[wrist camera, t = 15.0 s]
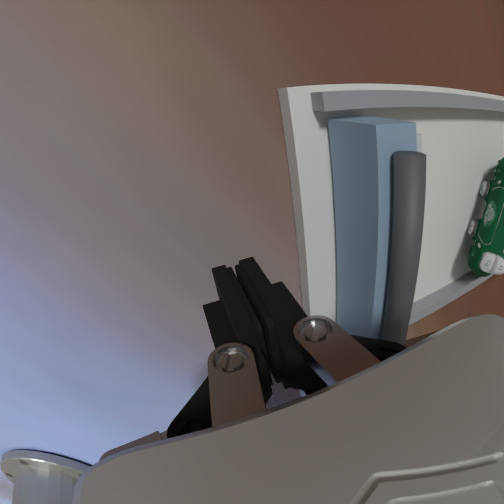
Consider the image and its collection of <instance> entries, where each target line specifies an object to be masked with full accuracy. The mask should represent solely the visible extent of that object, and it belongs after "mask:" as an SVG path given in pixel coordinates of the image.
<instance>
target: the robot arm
mask: <svg viewBox="0 0 504 504" xmlns="http://www.w3.org/2000/svg"><path fill="white" fill-rule="evenodd" d="M235 270H236V274H237V277H236V275H235V273H234V271H233V269H232V267H228V268H226V266H225V265H222V266H219V267H215V268H212V273H213V277H214V281H215V284H216V288H217V292H218V296H219V299H220V300H219V301H215V302H212V303H209V304H205V305H203V309H204V312H205V316H206V319H207V322H208V326H209V329H210V333H211V336H212V339H213V342H214V346H215V350H214V351H213V352H212V353H211V354H210V356H209V358H208V377H207V378H206V380H205V381H204V382H203V383H202V385H201V386H200V387H199V388H198V390H197V391H196V392H195V394H194V395H193V396H192V397H191V399H190V400H189V401H188V402H187V404H186V405H185V406H184V407H183V409H182V410H181V411H180V412H179V414H178V415H177V416H176V417H175V419H174V420H173V421H172V422H171V424H170V426H169V427H168V430H167V431H164V432H162V433H159V432H158V431H156V432H154V433H152V434H149V435H147V436H145V437H142V438H140V439H137V440H135V441H132V442H130V443H127V444H125V445H122V446H120V447H117V448H114V449H112V450H109V451H108V452H106V453H104V454H103V456H102V457H101V458H100V460H99V462H97V463H95V464H94V465H92V466H88V465H85V464H83V463H80V462H77V461H74V460H71V459H68V458H65V457H61V456H57V455H53V454H49V453H44V452H39V451H31V450H13V451H9V452H6V453H5V454H4V455H3V456H2V459H1V470H2V471H3V473H4V474H5V476H6V477H7V478H8V479H9V480H10V481H11V482H13V483H14V486H13V500H12V504H504V318H503V317H500V316H498V315H493V314H486V315H478V316H473V317H470V318H467V319H464V320H461V321H458V322H456V323H454V324H451V325H449V326H447V327H445V328H443V329H441V330H438V331H435V332H432V333H429V334H426V335H422V336H419V337H416V338H412V339H409V340H405V341H404V344H400V343H397V342H393V341H387V340H380V339H374V338H368V337H362V336H356V335H350V334H348V333H347V332H346V331H345V330H344V329H343V328H341V327H340V326H339V325H338V324H337V323H336V322H334V321H333V320H332V319H330V318H328V317H325V316H321V315H313V316H307V315H306V313H305V312H304V311H303V309H302V308H301V307H300V305H299V304H298V302H297V301H296V300H295V298H294V297H293V296H292V294H291V293H290V292H289V290H288V289H287V288H286V286H285V285H284V284H283V283H282V282H278V283H274V284H271V283H270V281H269V280H268V279H267V277H266V276H265V274H264V273H263V271H262V270H261V268H260V267H259V265H258V264H257V262H256V261H255V259H254V258H253V257H250V258H246V259H243V260H240V261H239V265H235ZM270 371H271V372H270ZM271 373H272V375H273V377H274V379H275V381H276V383H279V382H282V384H283V386H284V388H285V389H287V388H289V387H291V388H295V389H299V393H300V395H301V398H298V399H296V400H293V401H290V402H288V403H285V404H282V405H280V406H277V407H274V408H271V409H268V410H267V408H266V403H267V402H268V400H269V398H270V397H271V395H272V389H271V385H273V383H272V377H271Z"/></svg>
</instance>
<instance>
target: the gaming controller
mask: <svg viewBox="0 0 504 504" xmlns="http://www.w3.org/2000/svg"><path fill="white" fill-rule="evenodd" d="M493 174H494V177H493V179H492V180H489V181H488V182H486V181H484V182H483V183H482V185H481V189H480V194H481V195H482V196H483V195H484V200H485V201H486V207H485V209H484V212H483V217H482V218H481V219H478V220H476V222H475V221H474V220H473V221H471V222H470V224H469V227H468V233H469V235H471V238H472V240H473V245H472V246H471V248H470V251H469V254H470V255H469V258H468V266H469V268H470V269H471V270H472V272H473V273H475V274H476V275H477V276H480V277H487V276H489V275H491V274H503V273H504V254H503V250H504V157H503V158H502V159H501V160H498V164H497V167H495V168H494V172H493Z"/></svg>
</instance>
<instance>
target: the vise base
mask: <svg viewBox="0 0 504 504" xmlns="http://www.w3.org/2000/svg"><path fill="white" fill-rule="evenodd" d="M278 94H279V101H280V107H281V114H282V121H283V128H284V135H285V143H286V150H287V158H288V166H289V174H290V182H291V191H292V199H293V208H294V218H295V227H296V237H297V247H298V258H299V269H300V280H301V293H302V305H303V311H304V312H305V313H306V315H307V316H313V315H321V316H325V317H328V318H330V319H332V320H333V321H334V322H336V323H337V248H336V220H335V201H334V185H333V171H332V159H331V148H330V137H329V128H328V119H335V118H345V117H357V116H372V117H380V118H388V119H396V120H403V121H409V122H415V123H416V133H418V134H421V136H422V153H424V154H426V193H425V211H424V224H423V235H422V244H421V253H420V261H419V268H418V275H417V282H416V288H415V294H414V300H413V305H412V311H411V316H410V321H409V325H410V324H412V323H414V322H416V321H418V320H420V319H422V318H423V317H425V316H427V315H429V314H431V313H432V312H434V311H436V310H438V309H440V308H441V307H443V306H445V305H446V304H448V303H450V302H452V301H453V300H455V299H457V298H458V297H460V296H461V295H463V294H465V293H466V292H468V291H470V290H471V289H473V288H474V287H476V286H477V285H479V284H480V283H482V282H484V281H485V280H487V279H488V278H490V277H491V276H493V275H494V274H491V275H489V276H487V277H480V276H477V275H476V274H475V273H473V272H472V270H471V269H470V268H469V266H468V258H469V255H470V254H469V251H470V248H471V246H472V245H473V240H472V238H471V235H469V233H468V227H469V224H470V222H471V221H473V220H474V221H475V222H476V220H478V219H481V218H482V217H483V212H484V209H485V207H486V201H485V200H484V195H483V196H482V195H481V194H480V189H481V185H482V183H483V182H484V181H486V182H488V181H489V180H492V179H493V177H494V174H493V172H494V168H495V167H497V164H498V160H501V159H502V158H503V157H504V97H502V96H497V95H492V94H486V93H480V92H474V91H467V90H459V89H451V88H442V87H431V86H419V85H401V84H331V85H312V86H299V87H288V88H281V89H278ZM503 254H504V250H503ZM409 325H408V326H409Z"/></svg>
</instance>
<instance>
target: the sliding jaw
mask: <svg viewBox="0 0 504 504" xmlns="http://www.w3.org/2000/svg"><path fill="white" fill-rule="evenodd" d="M328 128H329V137H330V148H331V159H332V171H333V185H334V201H335V220H336V248H337V324H338V325H339V326H340V327H341V328H343V329H344V330H345V331H346V332H347V333H348V334H350V335H356V336H362V337H368V338H374V339H380V340H387V341H393V342H397V343H400V344H404V341H405V339H406V335H407V330H408V325H409V321H410V316H411V311H412V305H413V300H414V294H415V288H416V282H417V275H418V268H419V261H420V253H421V244H422V235H423V224H424V211H425V193H426V154H424V153H422V136H421V134H418V133H416V123H415V122H409V121H403V120H396V119H388V118H380V117H372V116H357V117H345V118H335V119H328Z"/></svg>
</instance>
